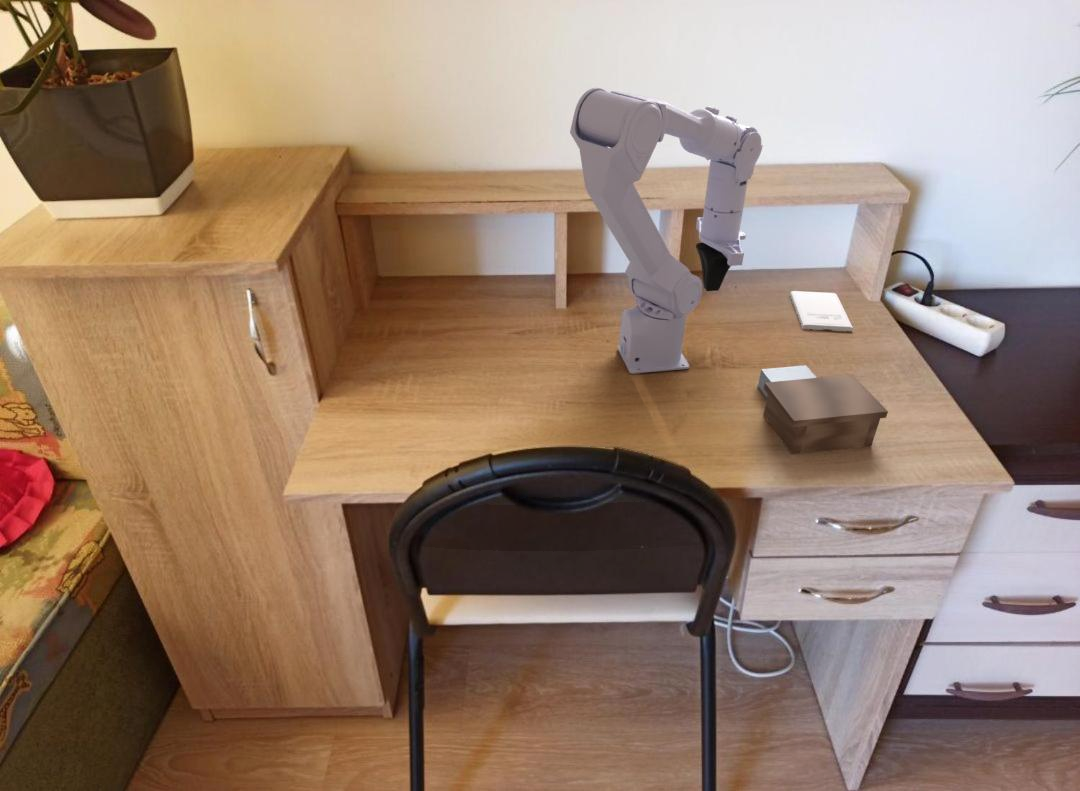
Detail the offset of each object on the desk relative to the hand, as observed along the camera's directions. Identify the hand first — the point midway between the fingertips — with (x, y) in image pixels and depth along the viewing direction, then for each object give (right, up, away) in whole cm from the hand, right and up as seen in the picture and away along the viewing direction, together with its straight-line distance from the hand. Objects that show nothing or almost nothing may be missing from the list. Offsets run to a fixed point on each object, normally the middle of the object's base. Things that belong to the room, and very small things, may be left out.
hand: (711, 289), depth 121 cm
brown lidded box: (+11, -21, -16) cm, 29 cm away
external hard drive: (+22, -3, +12) cm, 25 cm away
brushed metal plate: (+10, -19, -13) cm, 25 cm away
